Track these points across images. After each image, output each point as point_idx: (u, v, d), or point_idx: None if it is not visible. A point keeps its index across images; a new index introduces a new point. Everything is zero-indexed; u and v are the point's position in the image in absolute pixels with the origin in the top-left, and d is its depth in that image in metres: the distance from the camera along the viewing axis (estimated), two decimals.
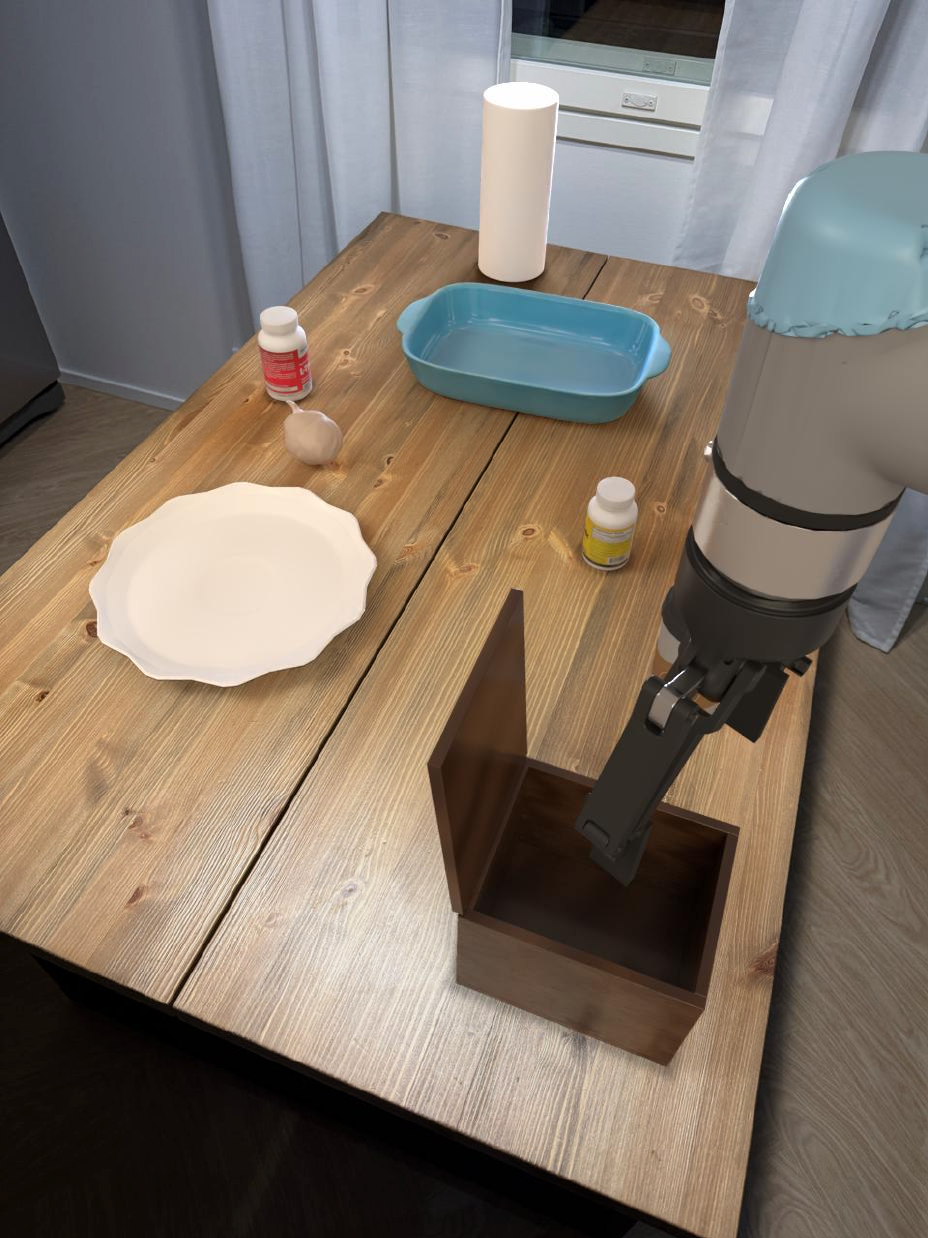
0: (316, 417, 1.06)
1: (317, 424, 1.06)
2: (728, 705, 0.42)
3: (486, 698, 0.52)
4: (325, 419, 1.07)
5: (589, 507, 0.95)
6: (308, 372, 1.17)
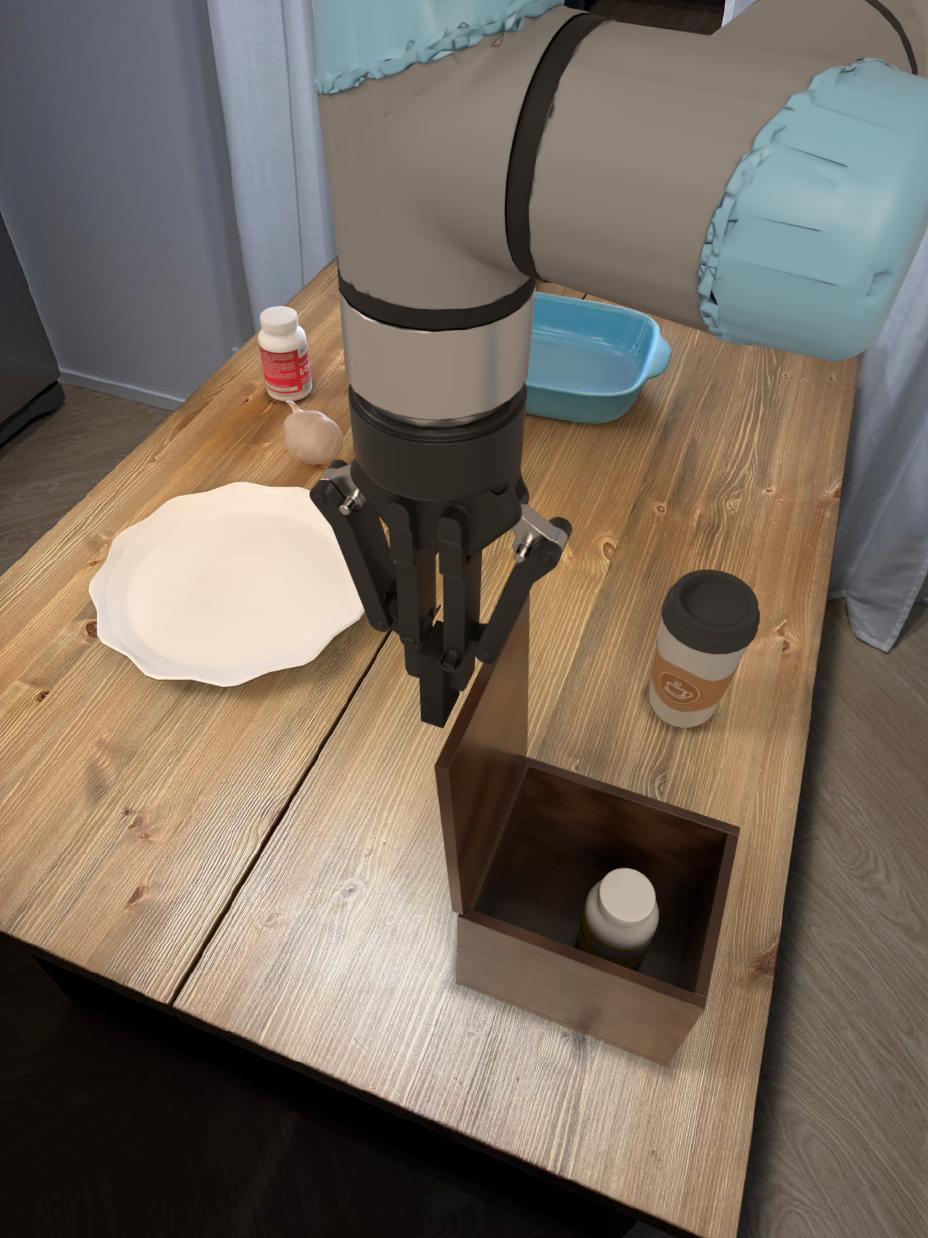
0: (316, 417, 1.06)
1: (317, 424, 1.06)
2: (389, 535, 0.43)
3: (492, 700, 0.52)
4: (325, 419, 1.07)
5: (587, 908, 0.65)
6: (308, 372, 1.17)
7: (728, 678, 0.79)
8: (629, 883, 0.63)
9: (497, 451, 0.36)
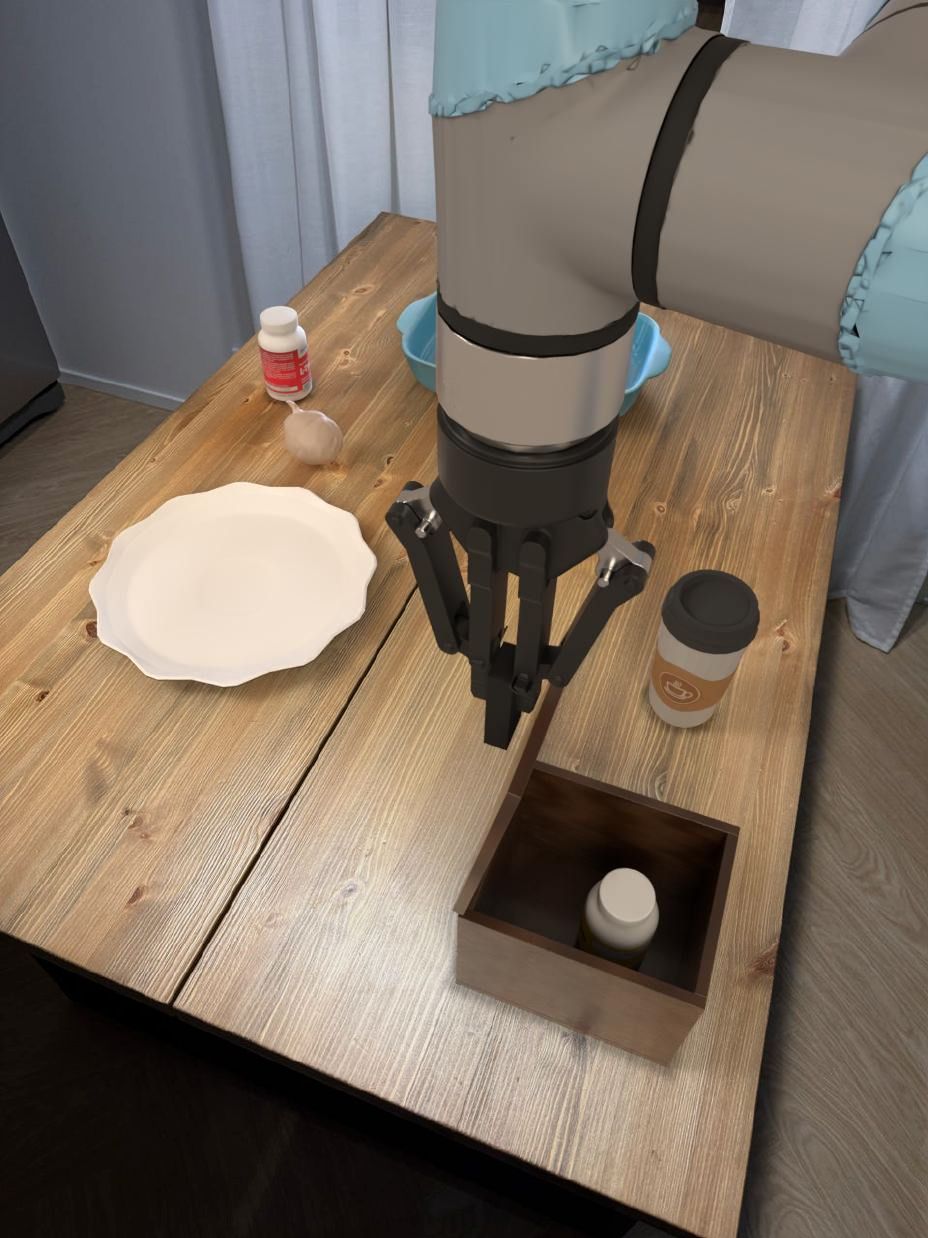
0: (316, 418, 1.06)
1: (317, 424, 1.06)
2: (468, 559, 0.42)
3: None
4: (325, 419, 1.07)
5: (587, 908, 0.65)
6: (308, 372, 1.17)
7: (728, 678, 0.79)
8: (629, 883, 0.63)
9: (591, 476, 0.35)
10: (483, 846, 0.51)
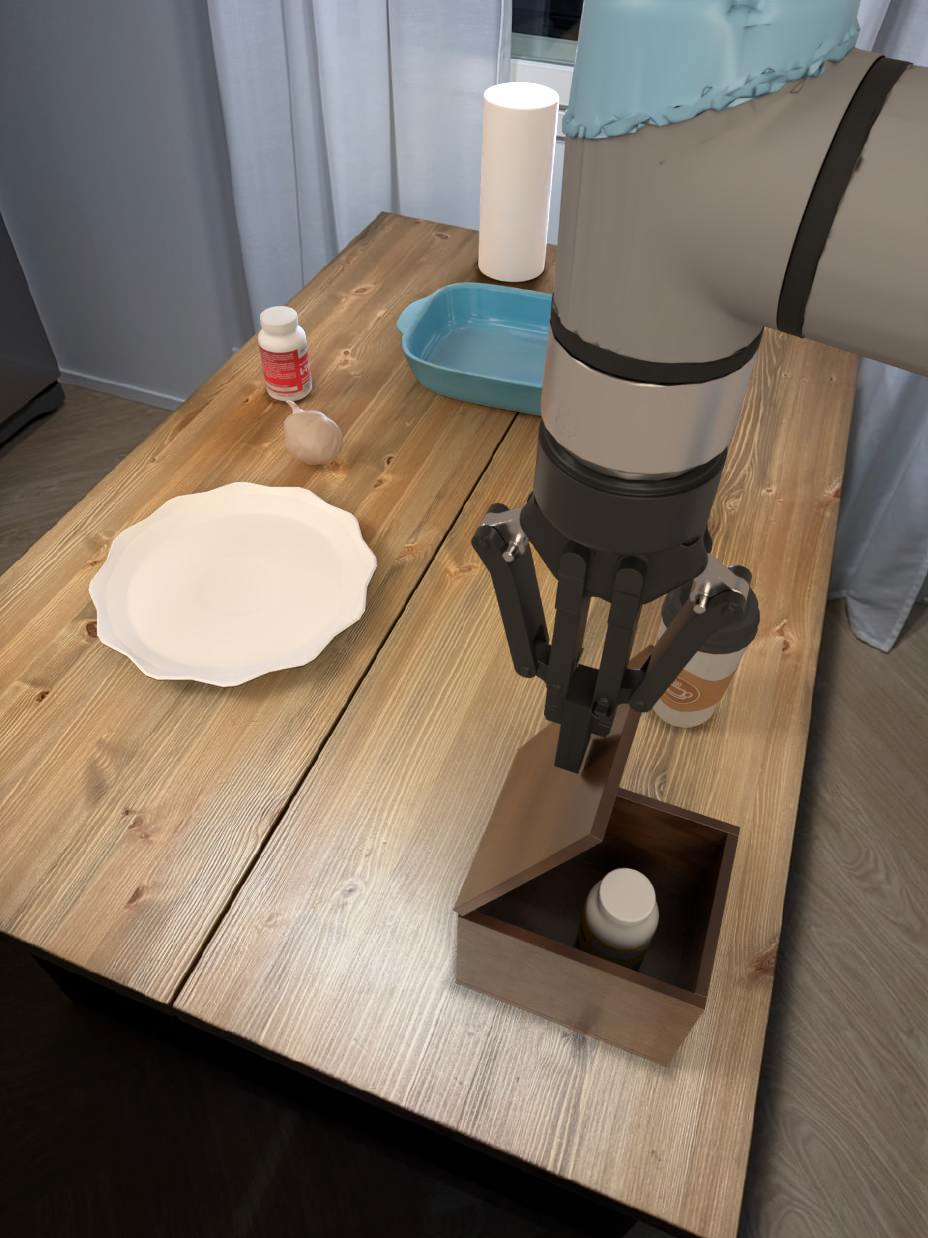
0: (316, 418, 1.06)
1: (317, 424, 1.06)
2: None
3: None
4: (325, 419, 1.07)
5: (587, 908, 0.65)
6: (308, 372, 1.17)
7: (728, 678, 0.79)
8: (629, 883, 0.63)
9: (701, 503, 0.34)
10: (528, 869, 0.51)
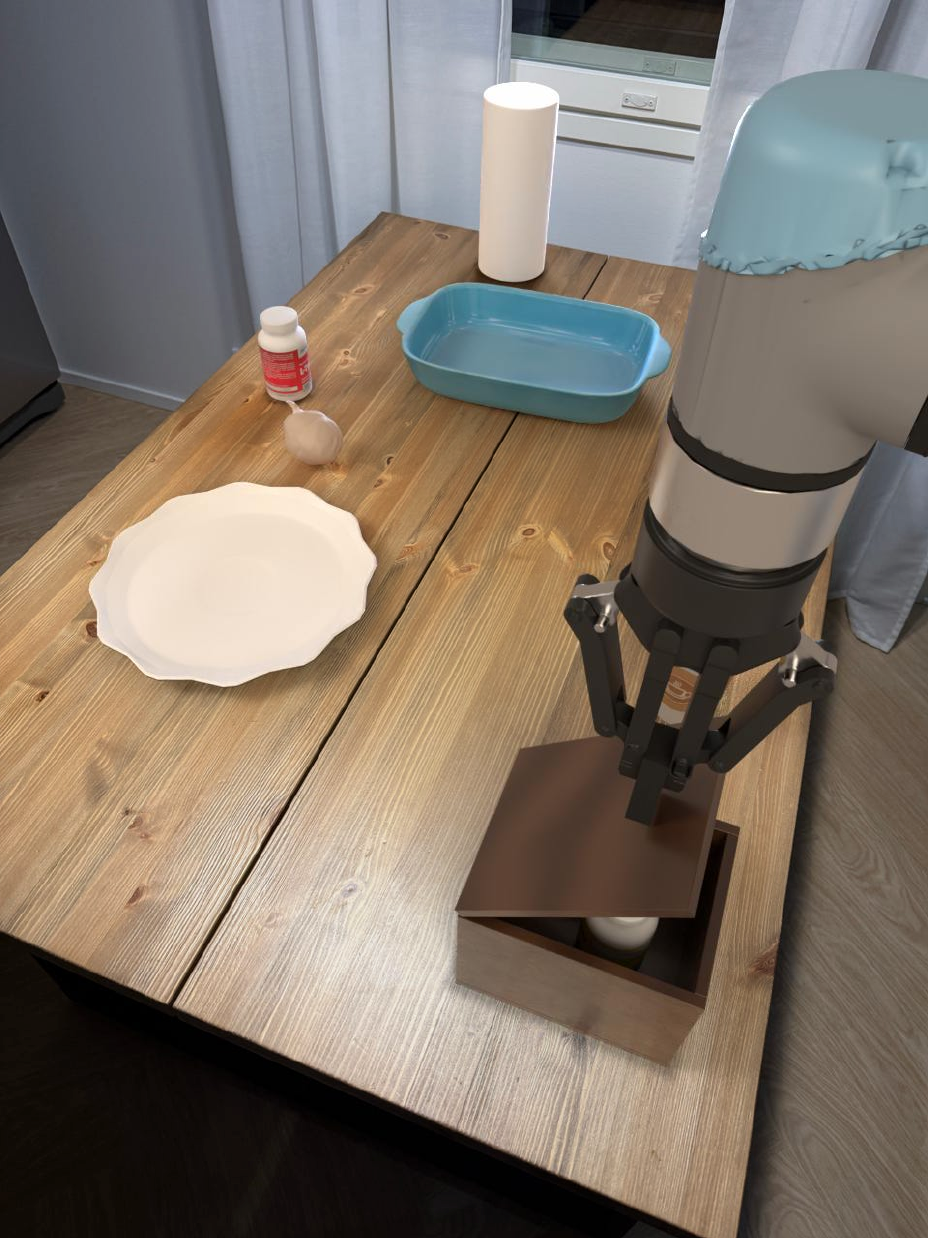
0: (316, 418, 1.06)
1: (317, 424, 1.06)
2: (649, 655, 0.42)
3: None
4: (325, 419, 1.07)
5: None
6: (308, 372, 1.17)
7: None
8: None
9: (803, 591, 0.36)
10: (585, 910, 0.52)
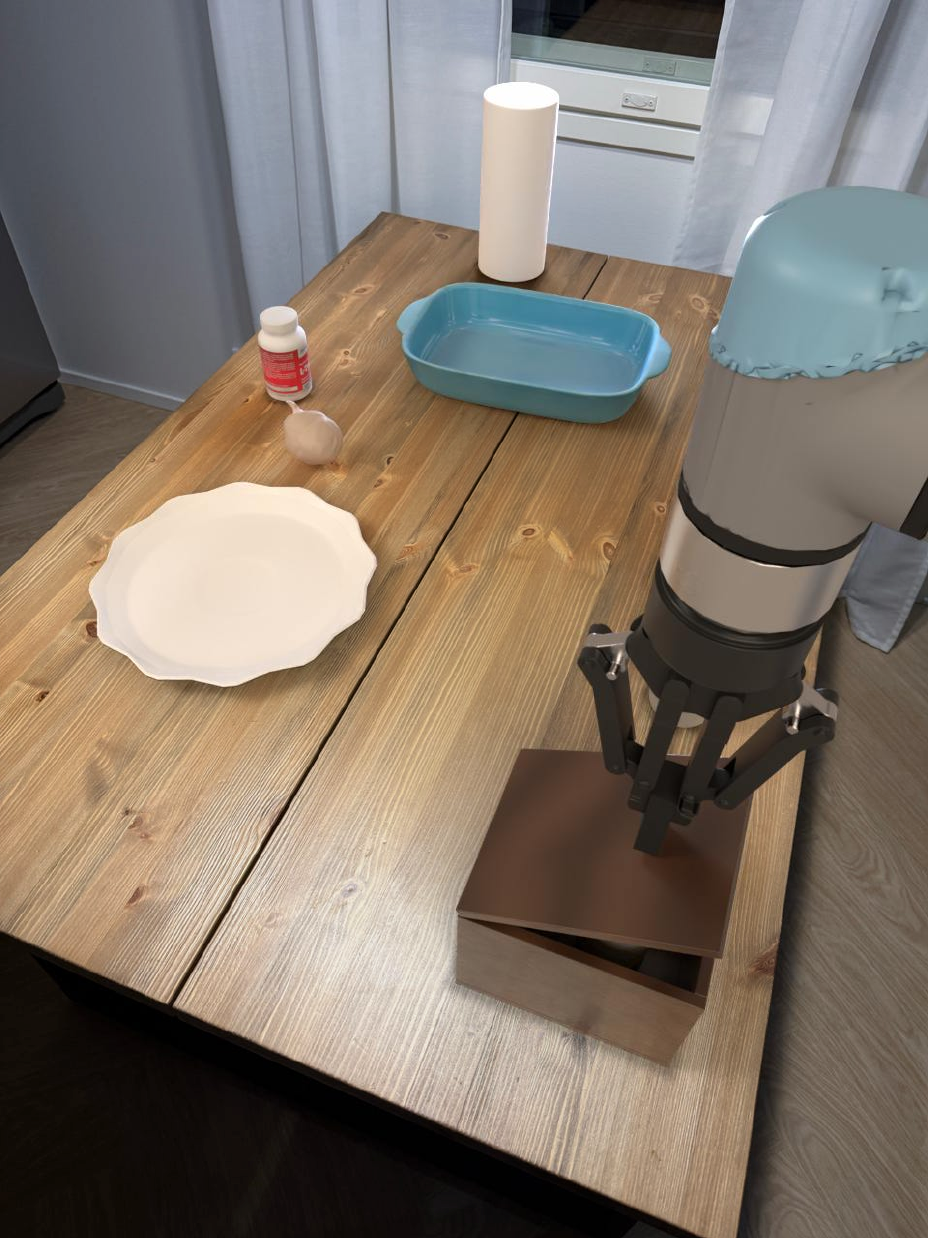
0: (316, 417, 1.06)
1: (317, 424, 1.06)
2: (658, 702, 0.44)
3: None
4: (325, 419, 1.07)
5: None
6: (308, 372, 1.17)
7: None
8: None
9: (806, 650, 0.38)
10: (605, 935, 0.53)
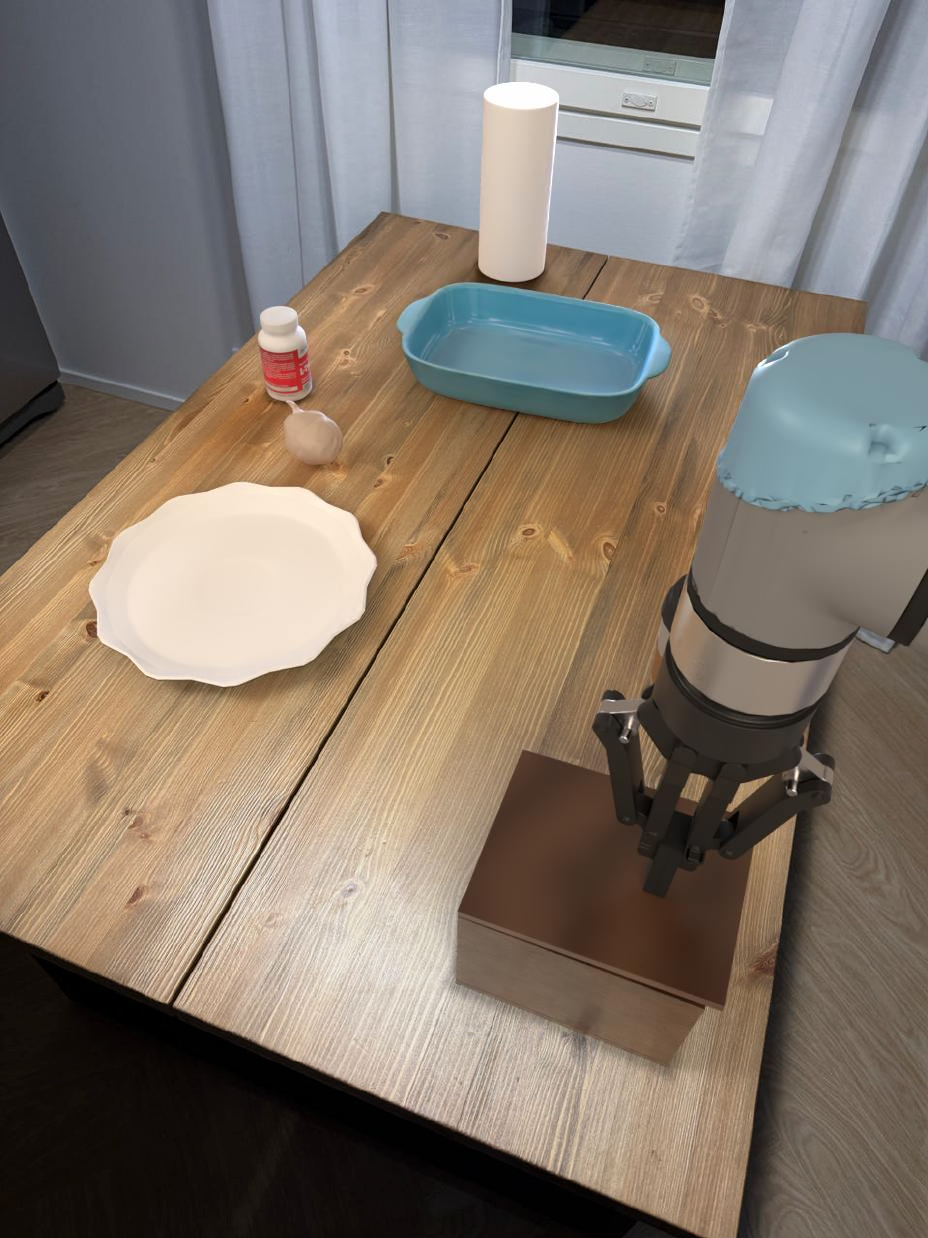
0: (316, 417, 1.06)
1: (317, 424, 1.06)
2: (668, 765, 0.48)
3: None
4: (325, 419, 1.07)
5: None
6: (308, 372, 1.17)
7: None
8: None
9: (804, 726, 0.41)
10: (615, 968, 0.56)
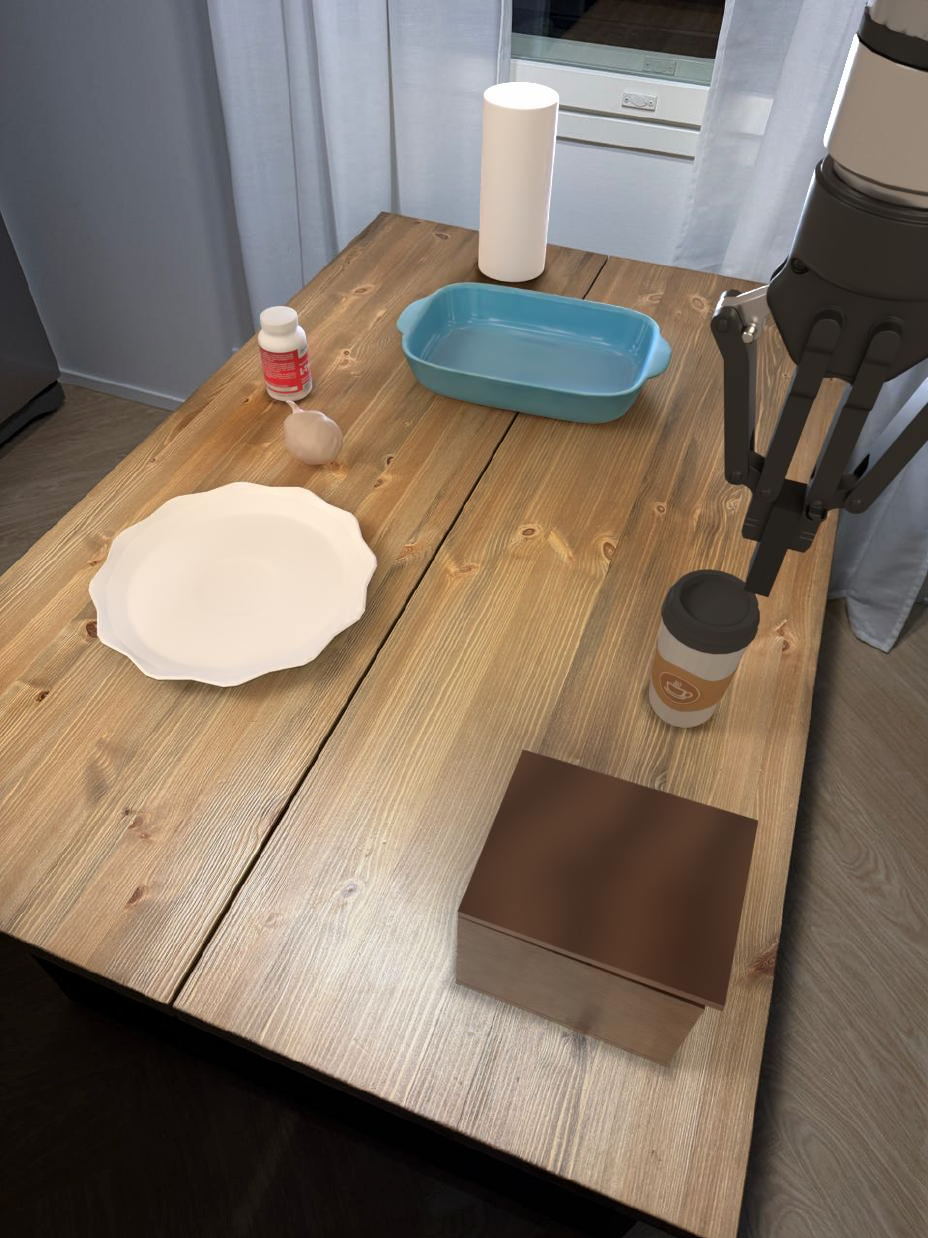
0: (316, 418, 1.06)
1: (317, 424, 1.06)
2: (800, 361, 0.41)
3: None
4: (325, 419, 1.07)
5: None
6: (308, 372, 1.17)
7: (728, 678, 0.79)
8: None
9: None
10: (615, 968, 0.56)
